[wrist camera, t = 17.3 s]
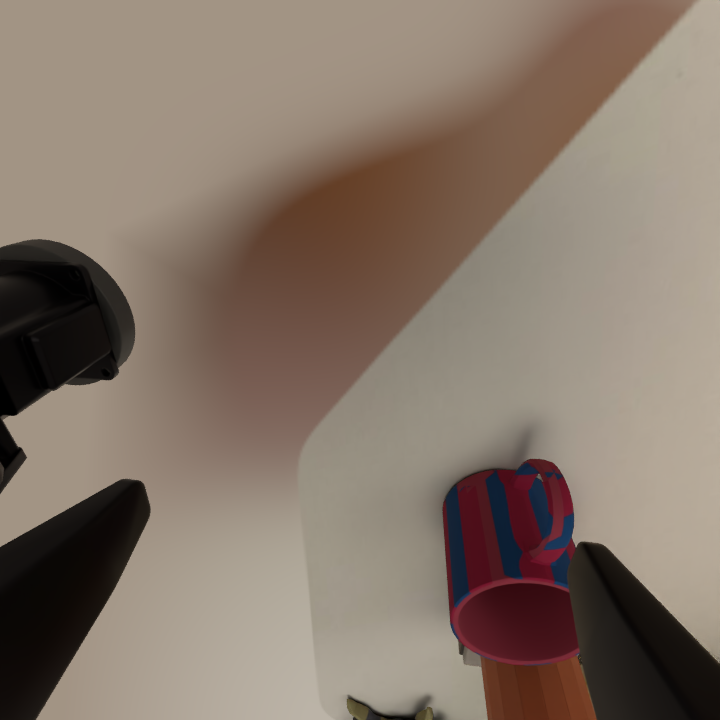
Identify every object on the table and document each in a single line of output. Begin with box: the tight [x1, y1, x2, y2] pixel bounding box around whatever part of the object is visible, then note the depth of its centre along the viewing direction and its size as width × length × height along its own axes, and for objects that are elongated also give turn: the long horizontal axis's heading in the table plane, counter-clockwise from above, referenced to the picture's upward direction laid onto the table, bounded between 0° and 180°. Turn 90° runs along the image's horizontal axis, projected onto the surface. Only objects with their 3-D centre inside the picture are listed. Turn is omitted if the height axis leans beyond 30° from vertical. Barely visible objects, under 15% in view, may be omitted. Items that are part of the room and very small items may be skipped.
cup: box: [443, 459, 580, 666], centre depth 21 cm, size 7×10×7 cm
